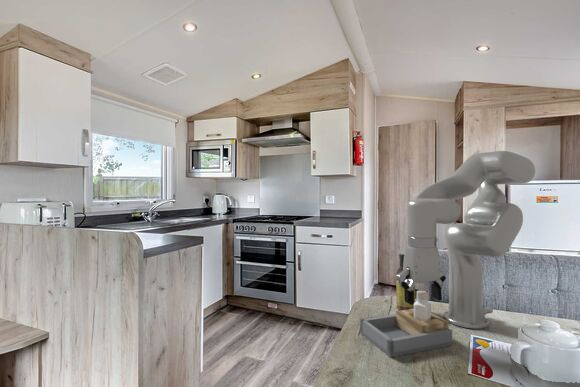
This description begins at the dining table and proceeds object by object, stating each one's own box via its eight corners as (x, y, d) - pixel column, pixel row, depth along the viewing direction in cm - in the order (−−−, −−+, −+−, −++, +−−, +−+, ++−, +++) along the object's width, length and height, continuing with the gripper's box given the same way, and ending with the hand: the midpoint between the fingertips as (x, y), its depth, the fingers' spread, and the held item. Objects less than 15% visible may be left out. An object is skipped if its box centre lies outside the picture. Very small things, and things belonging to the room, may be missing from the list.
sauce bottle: (416, 313, 104) (416, 256, 104) (397, 312, 105) (397, 255, 105) (413, 306, 110) (413, 252, 110) (395, 305, 111) (395, 251, 111)
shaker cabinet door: (420, 322, 94) (420, 307, 94) (448, 337, 84) (448, 321, 84) (396, 326, 91) (396, 311, 91) (422, 342, 81) (422, 326, 81)
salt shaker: (417, 320, 90) (417, 289, 90) (431, 324, 88) (431, 291, 88) (413, 325, 87) (413, 292, 87) (427, 329, 85) (427, 295, 85)
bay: (415, 324, 96) (415, 311, 96) (452, 345, 82) (452, 330, 82) (360, 333, 89) (360, 319, 89) (389, 357, 76) (389, 341, 76)
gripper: (435, 238, 94) (436, 293, 94) (388, 242, 89) (390, 300, 89) (455, 242, 87) (457, 301, 87) (405, 247, 82) (407, 310, 82)
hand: (423, 301), depth 88 cm, fingers open, 9 cm apart
